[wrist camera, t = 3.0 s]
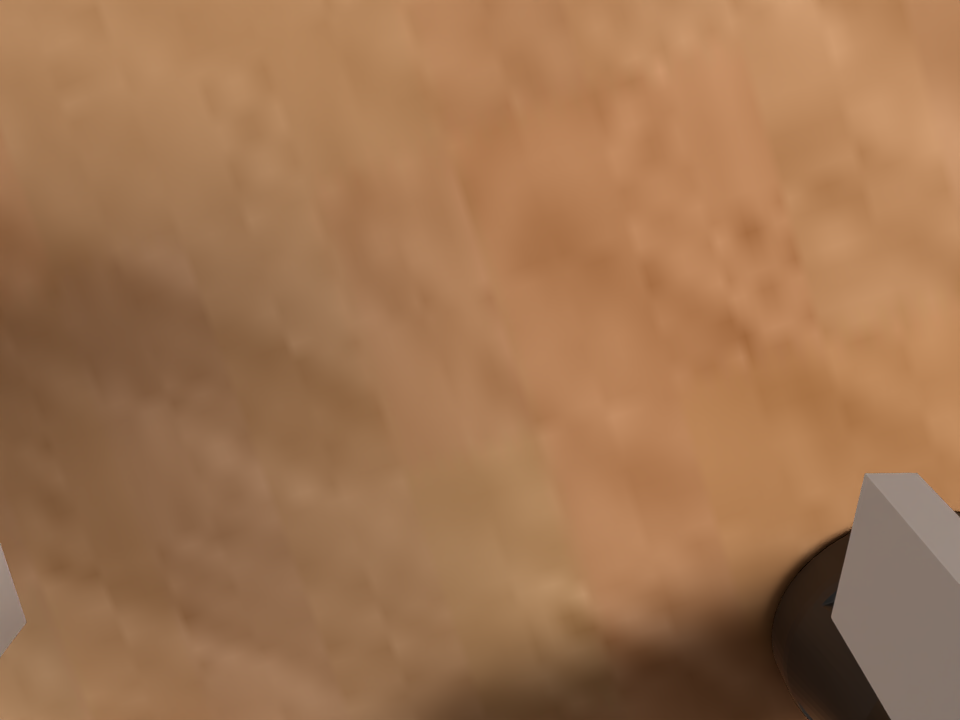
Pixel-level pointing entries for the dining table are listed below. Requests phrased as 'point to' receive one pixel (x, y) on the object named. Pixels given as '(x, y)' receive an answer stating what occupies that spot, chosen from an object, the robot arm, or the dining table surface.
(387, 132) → the dining table surface
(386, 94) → the dining table surface
